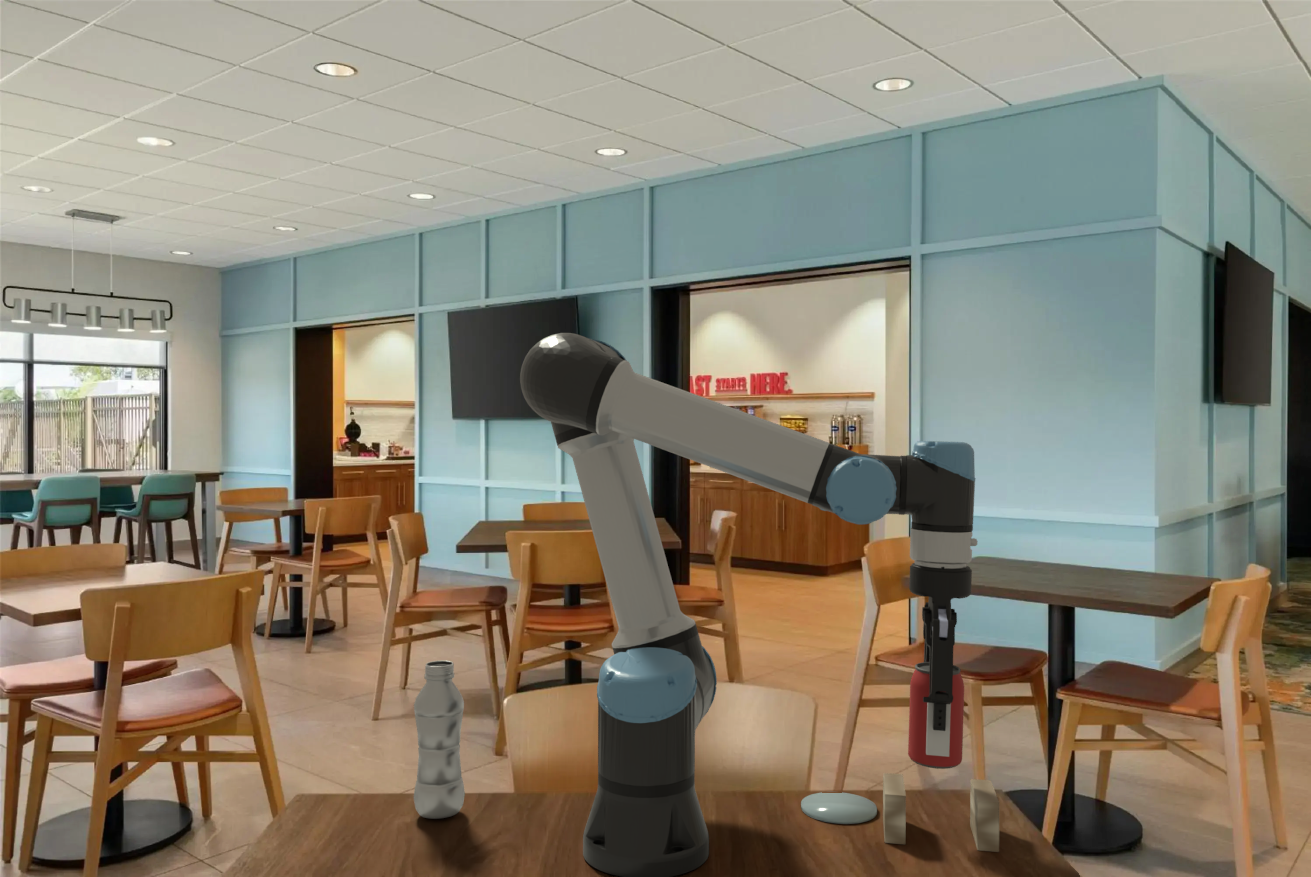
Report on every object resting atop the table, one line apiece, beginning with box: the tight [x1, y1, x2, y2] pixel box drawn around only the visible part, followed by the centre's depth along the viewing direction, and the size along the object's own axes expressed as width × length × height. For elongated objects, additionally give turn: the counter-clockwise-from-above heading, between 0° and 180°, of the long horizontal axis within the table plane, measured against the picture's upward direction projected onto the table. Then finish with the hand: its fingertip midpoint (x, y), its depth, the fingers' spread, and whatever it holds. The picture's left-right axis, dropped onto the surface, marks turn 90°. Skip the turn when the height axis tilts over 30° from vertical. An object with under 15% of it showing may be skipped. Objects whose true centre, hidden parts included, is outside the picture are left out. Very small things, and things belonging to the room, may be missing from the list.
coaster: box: [800, 792, 878, 825], centre depth 137 cm, size 10×10×1 cm
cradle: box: [882, 772, 1000, 853], centre depth 128 cm, size 14×8×6 cm, turn 79°
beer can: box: [907, 661, 965, 770], centre depth 128 cm, size 7×7×12 cm
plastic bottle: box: [413, 660, 466, 820], centre depth 134 cm, size 6×7×20 cm
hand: (935, 745), depth 128 cm, fingers closed on beer can, 7 cm apart
